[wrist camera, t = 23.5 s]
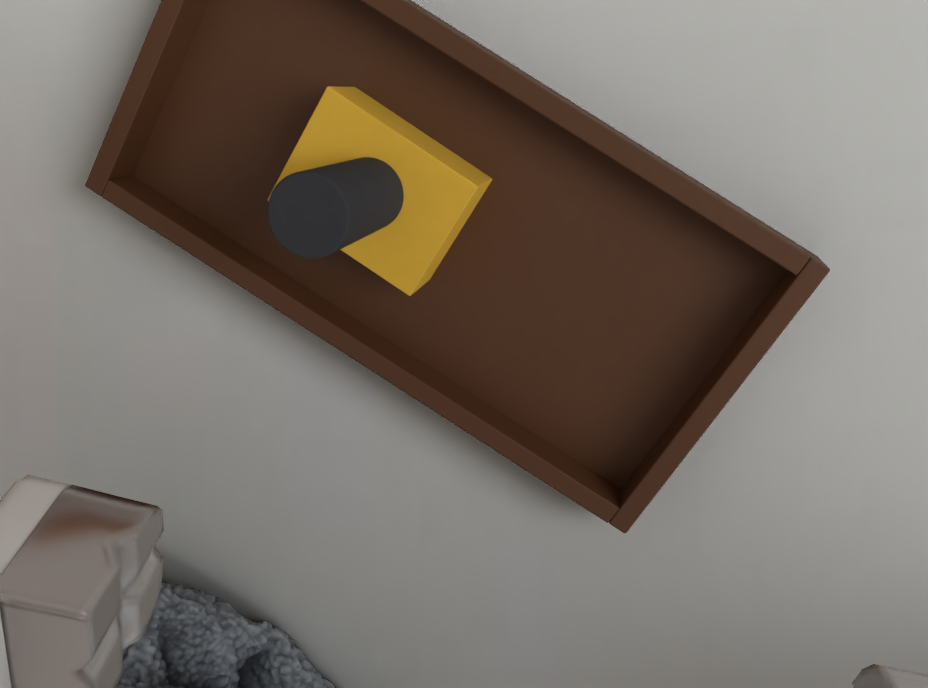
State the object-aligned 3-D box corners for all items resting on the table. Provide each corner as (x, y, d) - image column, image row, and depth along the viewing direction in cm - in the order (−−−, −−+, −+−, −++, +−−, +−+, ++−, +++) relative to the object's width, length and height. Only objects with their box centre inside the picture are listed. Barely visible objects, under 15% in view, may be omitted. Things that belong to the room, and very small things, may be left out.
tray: (818, 257, 32) (831, 269, 30) (627, 507, 37) (625, 534, 34) (241, -107, 33) (211, -122, 31) (118, 180, 37) (84, 186, 35)
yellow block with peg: (493, 178, 34) (438, 208, 25) (429, 280, 35) (358, 340, 27) (354, 86, 34) (253, 84, 25) (297, 191, 35) (185, 223, 27)
